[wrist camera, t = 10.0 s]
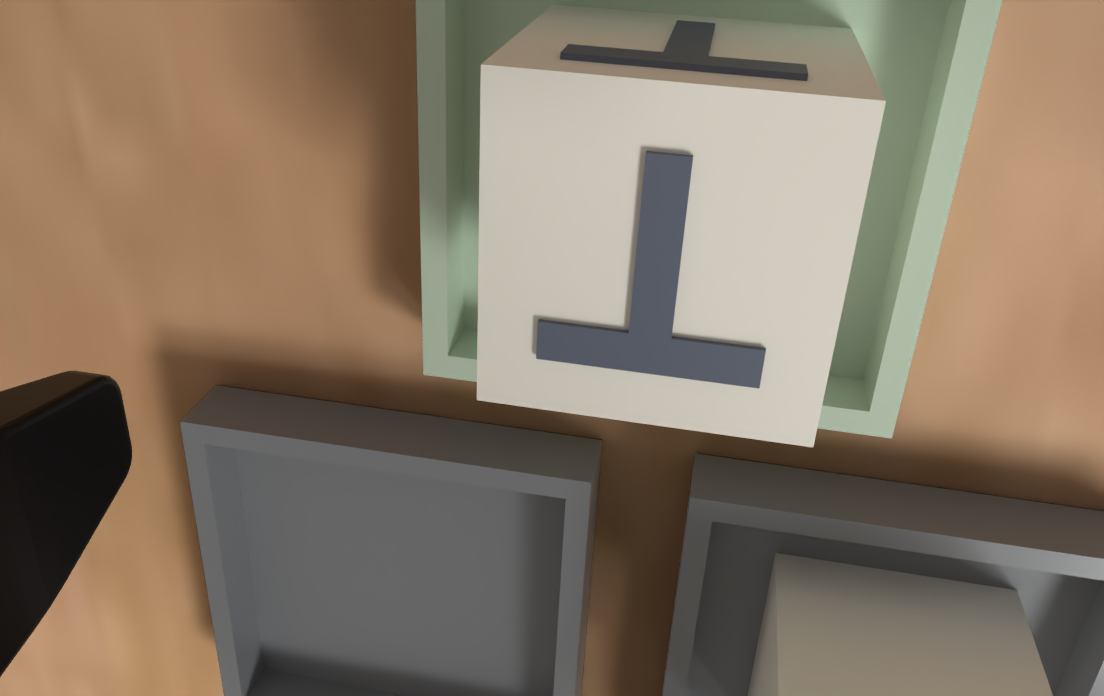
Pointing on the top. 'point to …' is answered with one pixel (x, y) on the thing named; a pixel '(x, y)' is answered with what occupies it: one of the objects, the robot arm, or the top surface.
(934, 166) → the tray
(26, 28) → the top surface
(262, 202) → the top surface
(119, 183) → the top surface
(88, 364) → the top surface
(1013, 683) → the blank cube
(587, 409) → the letter cube
